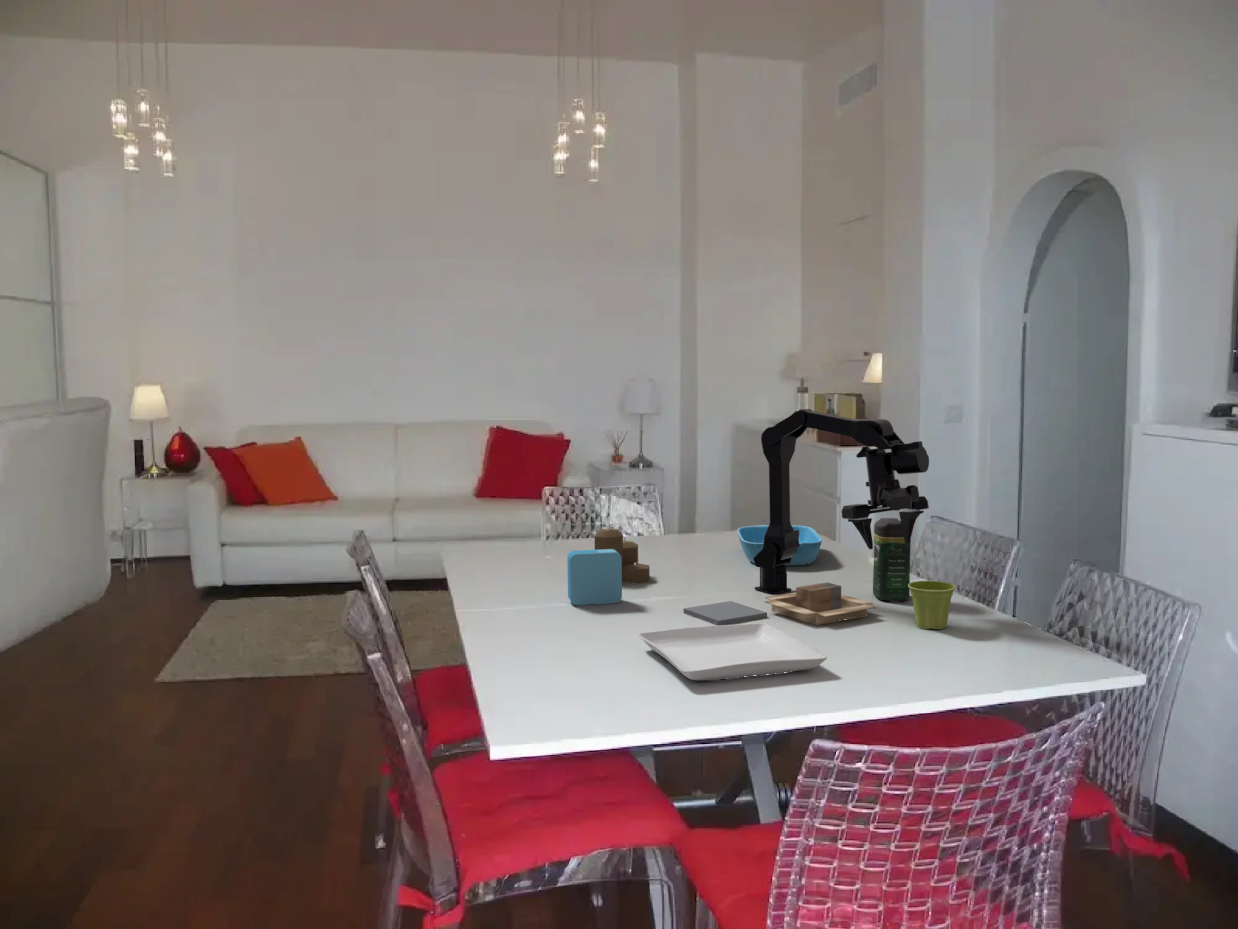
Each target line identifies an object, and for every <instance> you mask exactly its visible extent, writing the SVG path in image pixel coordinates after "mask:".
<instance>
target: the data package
mask: <svg viewBox="0 0 1238 929" xmlns="http://www.w3.org/2000/svg"><path fill="white" fill-rule="evenodd" d="M566 561H567V562H566V563H567V566H566V567H567V598H568V599H569V601H570V602H571V604H572V605H574V606H577V605H578V606H590V605H589V604H597V605H610V604H609V603H615V604H618V603H620V602H621V600H622V598H623V585H622V584H623V582H622V559H621V555H620V554H619V553H618V552H617V551H616V550H614V549H602V550H595V549H585V550H584V549H581V550H572V551H570V552H569V553H568V554H567V559H566ZM607 603H608V604H607Z"/></svg>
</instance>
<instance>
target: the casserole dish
mask: <svg viewBox="0 0 1238 929" xmlns="http://www.w3.org/2000/svg"><path fill="white" fill-rule="evenodd" d="M768 526H769V524H760V525H757V524H755V525H747V526H740V527H738V528H737V530H736V532H737V535H738V538H739V543H740V545H741V548H742V551H743V553H744V555H745V557H746V558H747V559H748V560H749V561H750V562H751V563H753V564H754V565H755V563H754V560H753V558H754V557H755V556H756V555H757V554H758V553H759V552H760V551H761V550H762V549H763V543H764V536H765V533H766V531H767V529H768ZM791 526H792V528H793V530H799V544H800V547H798V549H797V553H796V554H795V555H794V556H793V557H792V560H791V563H790V564H785V566H808V565H810V564H812V563H813V562H814V561H815V560H816V559H817V557H818V555H819V553H820V549H821V545H822V543H823V538H822V537H821V536H820V534H819V533H818V531H816V530H815V529H814V528H812V527H809V526H807V525H795V524H791ZM807 564H808V565H807Z"/></svg>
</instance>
